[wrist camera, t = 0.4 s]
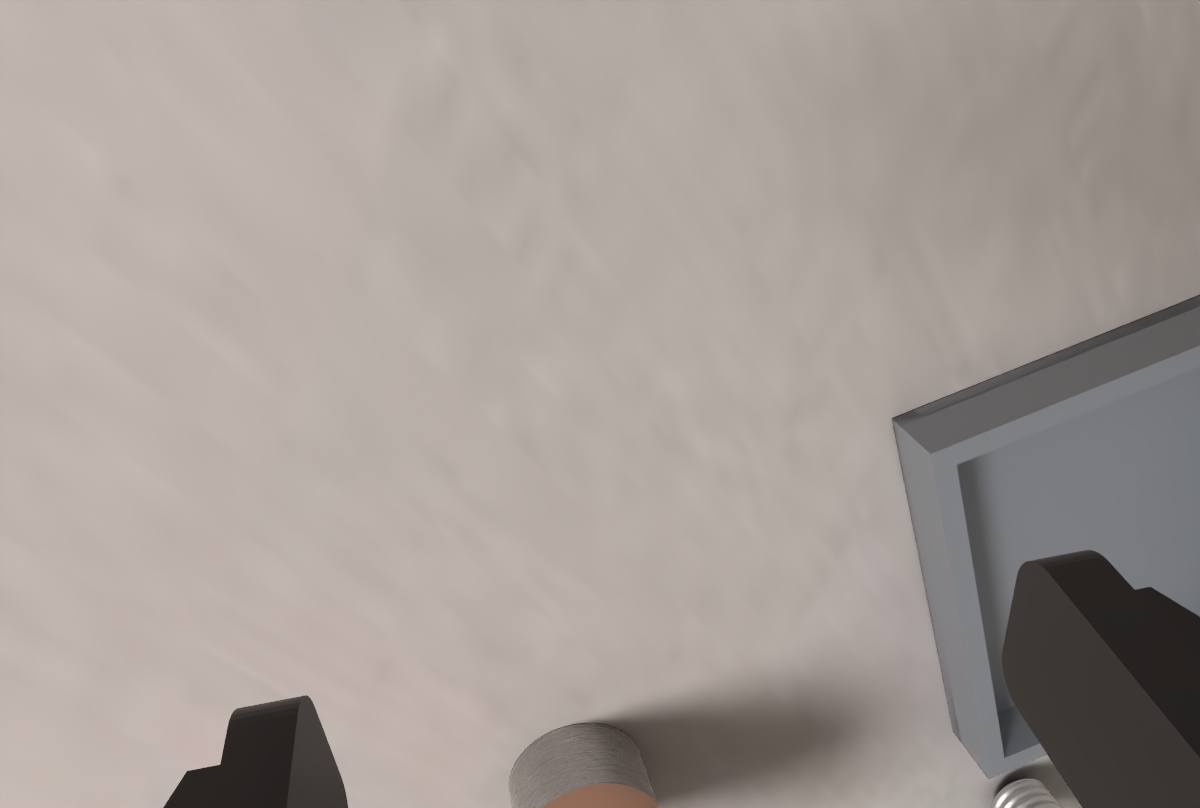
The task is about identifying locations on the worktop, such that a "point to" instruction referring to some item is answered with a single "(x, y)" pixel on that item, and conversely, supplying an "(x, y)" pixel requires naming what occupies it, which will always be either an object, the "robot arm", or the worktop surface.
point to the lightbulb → (1024, 795)
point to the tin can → (581, 771)
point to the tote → (1052, 498)
